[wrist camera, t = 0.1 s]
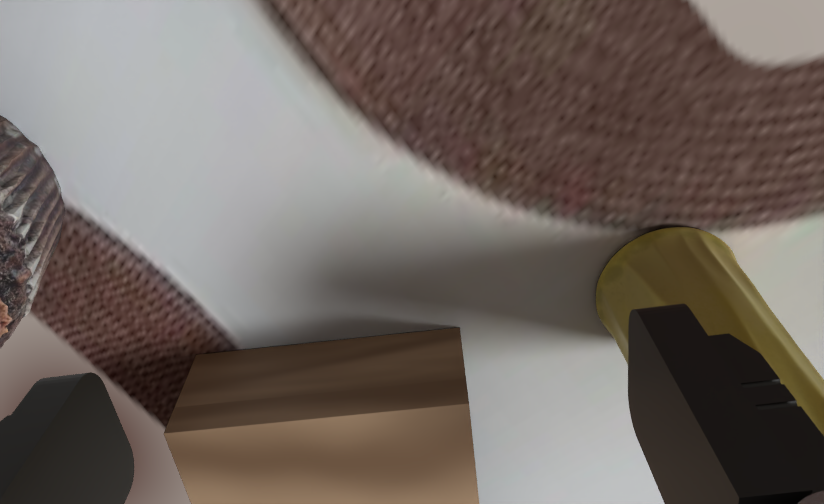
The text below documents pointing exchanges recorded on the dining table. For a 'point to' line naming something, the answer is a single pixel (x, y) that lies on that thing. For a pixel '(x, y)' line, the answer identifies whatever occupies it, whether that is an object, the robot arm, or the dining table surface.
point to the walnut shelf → (328, 423)
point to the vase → (704, 302)
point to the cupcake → (24, 224)
